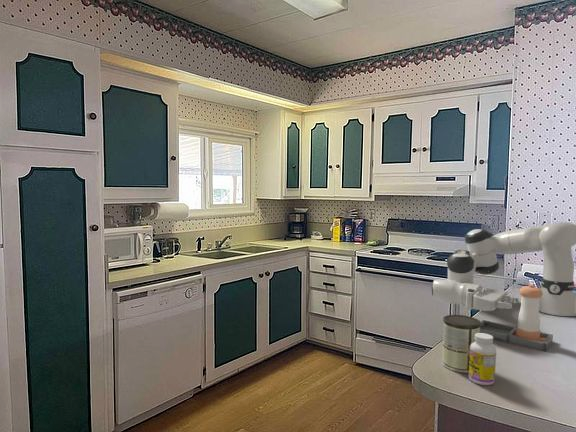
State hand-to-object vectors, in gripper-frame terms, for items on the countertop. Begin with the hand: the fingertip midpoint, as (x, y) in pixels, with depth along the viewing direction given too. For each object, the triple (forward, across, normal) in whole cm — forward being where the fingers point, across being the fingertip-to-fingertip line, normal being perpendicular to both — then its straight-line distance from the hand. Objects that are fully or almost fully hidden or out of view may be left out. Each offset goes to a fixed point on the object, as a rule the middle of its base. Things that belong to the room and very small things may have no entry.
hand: (515, 303), depth 151 cm
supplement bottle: (+2, +42, -13) cm, 44 cm away
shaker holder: (0, 0, -13) cm, 13 cm away
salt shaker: (+4, 0, -12) cm, 13 cm away
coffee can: (-6, +36, -13) cm, 39 cm away
